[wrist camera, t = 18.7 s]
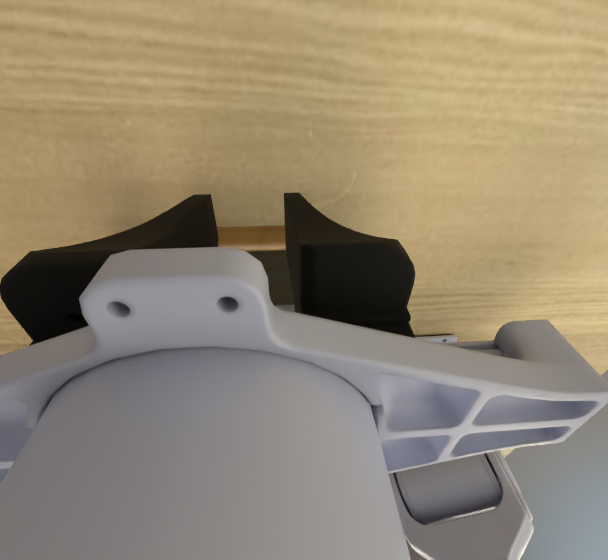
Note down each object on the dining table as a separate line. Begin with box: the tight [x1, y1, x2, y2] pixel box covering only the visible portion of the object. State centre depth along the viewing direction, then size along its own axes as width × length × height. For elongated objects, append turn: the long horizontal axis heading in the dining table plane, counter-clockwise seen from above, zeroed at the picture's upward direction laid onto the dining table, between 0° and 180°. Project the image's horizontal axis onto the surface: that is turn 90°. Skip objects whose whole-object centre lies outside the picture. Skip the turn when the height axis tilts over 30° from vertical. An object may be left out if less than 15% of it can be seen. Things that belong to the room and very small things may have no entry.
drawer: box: [217, 226, 295, 312], centre depth 24 cm, size 16×12×7 cm
